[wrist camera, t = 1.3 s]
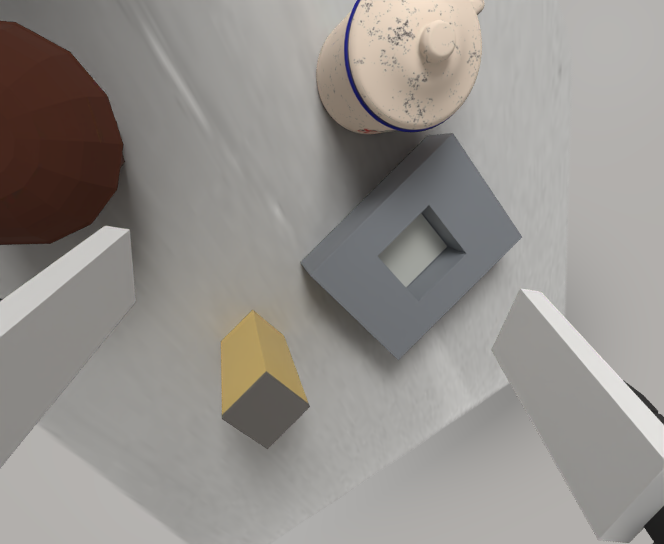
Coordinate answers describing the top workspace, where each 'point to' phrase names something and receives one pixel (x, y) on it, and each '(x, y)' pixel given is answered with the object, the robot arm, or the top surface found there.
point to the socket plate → (414, 244)
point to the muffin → (51, 141)
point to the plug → (259, 381)
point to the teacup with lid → (400, 64)
